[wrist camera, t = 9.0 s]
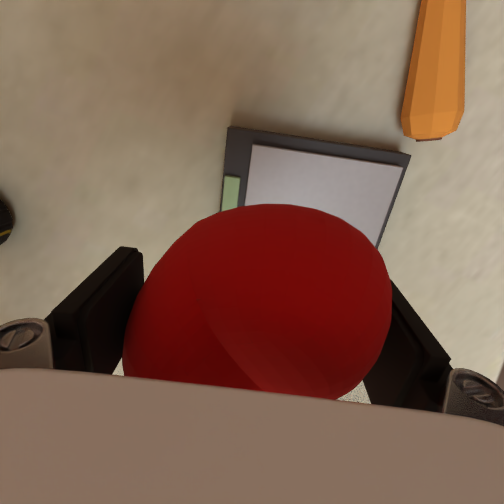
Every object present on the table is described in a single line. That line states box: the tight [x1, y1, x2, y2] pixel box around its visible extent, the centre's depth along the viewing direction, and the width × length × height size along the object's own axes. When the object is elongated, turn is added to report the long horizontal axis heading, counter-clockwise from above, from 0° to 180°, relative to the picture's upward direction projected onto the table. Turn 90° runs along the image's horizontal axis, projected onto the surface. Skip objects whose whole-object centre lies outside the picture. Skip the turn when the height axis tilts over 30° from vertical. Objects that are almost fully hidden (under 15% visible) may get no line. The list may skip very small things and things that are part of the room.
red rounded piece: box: [122, 204, 392, 400], centre depth 12 cm, size 9×7×10 cm
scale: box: [220, 126, 411, 249], centre depth 29 cm, size 16×14×3 cm
